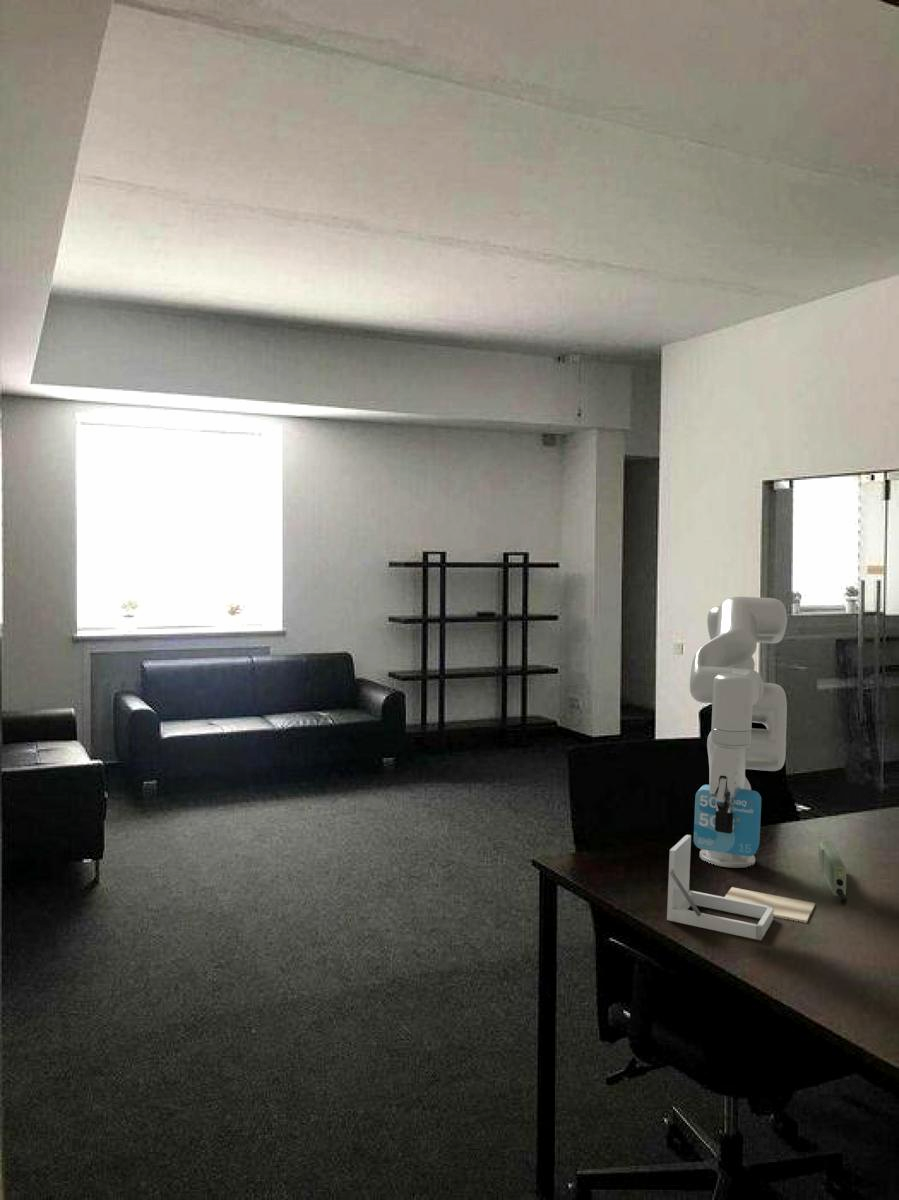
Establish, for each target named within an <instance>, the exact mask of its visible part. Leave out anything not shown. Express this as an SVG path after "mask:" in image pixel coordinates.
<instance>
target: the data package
mask: <svg viewBox="0 0 899 1200" xmlns="http://www.w3.org/2000/svg"><path fill="white" fill-rule="evenodd" d="M709 787H710V785H709V784H703V785H702V786H701V787H700V788H699V789H698V790H697V791H696V793H695V800H694V823H693V843H694V845H695V847H696V848H698V849H700V850H702V849H703V850H710V851H716V852H723V853H729V854H736V855H742V856H753V855H754V856H755V855H756V853H757V851H758V849H759V846H760V839H761V817H762V815H761V813H762V796H761V795H760V792H758V791H756V790H753V789H751V790H746V789H741V790H740V791H739V792H738V793H737V796H736V797H734V798H733V802H732V811H731V813H733V828H732V833H731V834H729V833H723V832H717V831H716V830H715V819H716V804H717V794H718V792H716V793H715V794H714V795H713V796H711V795H710V793H709ZM729 795H730V794H727V793H726V794H725V796H727V797H730V796H729ZM725 801H727V803H728V801H729V800H726V799H725Z"/></svg>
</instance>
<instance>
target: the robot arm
mask: <svg viewBox="0 0 899 1200" xmlns="http://www.w3.org/2000/svg"><path fill="white" fill-rule="evenodd" d="M706 620H707V621H706V622H707V629H708V636H709V639H710V640H709V641H707V642H706V643H705V644H703V645H702V646H701V647H700V648H699V649H698V650H697V651H696V653H695V654H694V656H693V658H692V663H691V669H690V677H689V692H690V694H691V697H692V698H693V700H695V701H696V702H699V703H700V704H701V703H702V704H712V705H711V709H712V711H711V728H710V729H711V730H710V732H709V734H708V736H707V740H706V741H707V742H706V747H707V748H706V749H707V755H708V756H707V757H708V766H709V767H708V768H709V769H708V770H709V773H708V774H709V777H708V778H709V780H708V781H709V782H708V783H709V784H708V785H710V787H709V793H710V795H711V796H713V795H714V794H715V793H716V792H718V794H717V804H716V819H715V830H716V831H717V832H723V833H729V834H731V833H732V828H733V813H731V811H732V802H733V798H734V797H736V796H737V793H738V792H739V791H740V790H741V789H746V790H752V786H751V784H750V782H749V780H748V778H747V777H746V770H754V771H755V770H756V771H768V772H776V771H779V770H781V769H782V768H783V767H784V765H785V761H786V753H787V750H786V749H787V718H788V716H787V714H788V713H787V712H788V708H787V707H788V703H787V696H786V691H785V690H784V688H783V687H782V686H781V685H779V684H777V683H774V682H764V679H763V677H762V676H761V675H760V673H759V672H757V670H755V665H756V664H755V660H754V658H753V655H754V654H755V652H756V651H757V646H758V644H759V643H760V644H779V643H780V642H781V641H782V640H783V638H784V636H785V633H786V629H787V625H788V613H787V608H786V607H785V604H784V603H783V602H782V601H781V600H780V599H777V598H773V597H758V596H757V597H754V596H753V597H752V596H733V597H729V598H727V599H725V600H724V601H722V603H720V605H718V606H715V607H713V608H711V609H710V610H709V611H708V613H707V618H706ZM757 643H758V644H757ZM752 723H756V724H762V725H764V726H765V728H766V729H765V728H754V727H752ZM726 793H727V794H730V795H729V796H730V797H727V796H725V794H726ZM725 799H726V800H729V801H728V803H727V801H725ZM699 858H700V859H701V860H702V861H704V862H705V861H706V862H705V863H707V862H708V864H710V863H711V864H710V865H713V864H714V866H717V867H721V868H722V867H724V868H730V869H741V868H748V866H749V867H752V866H753V865H755V864H756V857H755V854H754V855H753V856H742V855H736V854H729V853H723V852H716V851H710V850H703V849H700V851H699ZM751 865H752V866H751Z"/></svg>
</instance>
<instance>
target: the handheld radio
mask: <svg viewBox="0 0 899 1200" xmlns="http://www.w3.org/2000/svg"><path fill="white" fill-rule="evenodd" d="M818 866H819V868H820V871H821V872H822V874H823V873H824V874H823V877H824V878H825V880H826V881H827V884H828V886H829V888H830V890H831V891H830V892H831V893H832V895H833V896H834V895H835V897H838V899H839V900H840V902H841V903H842V904H843V905H845V904H847V903H848V898H847V897H846V893H847V868H846V866H845V865H844V863H843V860H842V858H841V857H840V855H839V853H838V852H837V850H836V848H835V847H834V844H833V843H832V841H831V840H829V839H826V840H825V839H823V840H820V843H818Z"/></svg>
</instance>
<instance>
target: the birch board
mask: <svg viewBox="0 0 899 1200" xmlns="http://www.w3.org/2000/svg"><path fill="white" fill-rule="evenodd" d="M724 897H726V898H731V899H736V900H741V901H746V902H751V903H756V904H761V905H766V906H771V907H774V917H775V918H778V919H784V920H788V919H789V920H788V921H793V920H794V921H793V922H798V921H799V922H798V923H802V922H803V923H804V924H807V923H808V921H809V919H810V917H811V915H812V913H813V911H814V909H815V907H816V902H811V901H806V900H805V901H804V900H800V899H795V898H790V897H785V896H781V895H780V896H779V895H774V894H770V893H764V892H759V891H754V890H749V889H742V888H739V887H734V886H732V887H731V888H730V889H729V890H728V891H727V893H725V896H724Z"/></svg>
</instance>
